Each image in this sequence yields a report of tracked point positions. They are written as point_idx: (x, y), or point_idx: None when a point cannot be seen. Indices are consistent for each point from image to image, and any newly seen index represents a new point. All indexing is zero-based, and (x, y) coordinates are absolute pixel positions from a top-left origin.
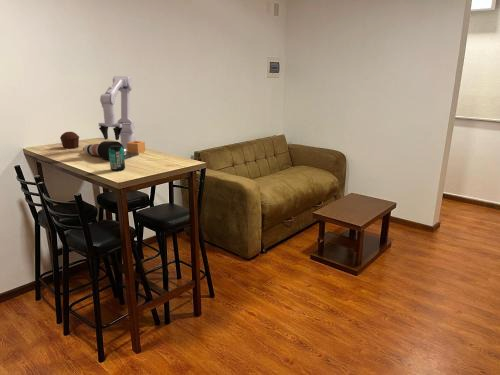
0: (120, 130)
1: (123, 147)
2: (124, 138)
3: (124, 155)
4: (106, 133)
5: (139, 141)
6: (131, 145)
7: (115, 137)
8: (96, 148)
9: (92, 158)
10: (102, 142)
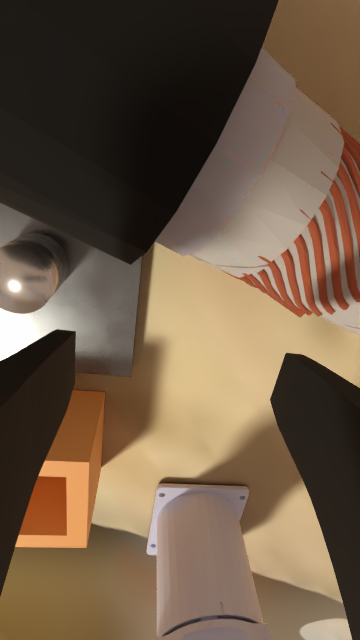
0: None
1: (209, 497)
2: (202, 577)
3: (5, 233)
4: (318, 462)
5: None
6: None
7: (53, 345)
8: (325, 114)
9: (323, 102)
10: (209, 16)
